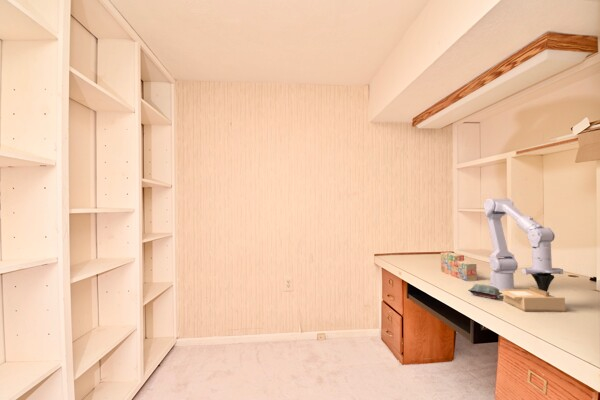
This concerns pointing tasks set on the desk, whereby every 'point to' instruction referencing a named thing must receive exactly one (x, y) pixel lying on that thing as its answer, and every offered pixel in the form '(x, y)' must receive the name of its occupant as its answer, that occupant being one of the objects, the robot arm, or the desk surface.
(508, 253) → the robot arm
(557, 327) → the desk surface
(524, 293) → the lid
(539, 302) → the light brown rectangular box
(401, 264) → the desk surface
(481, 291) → the packaged food
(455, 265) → the stack of blocks
